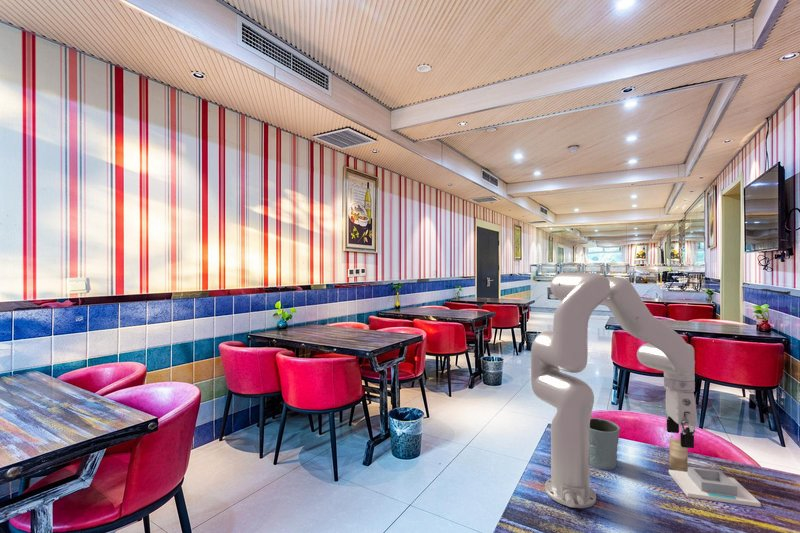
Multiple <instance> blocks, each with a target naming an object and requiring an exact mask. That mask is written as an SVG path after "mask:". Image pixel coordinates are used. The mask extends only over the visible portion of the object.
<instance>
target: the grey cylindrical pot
mask: <svg viewBox="0 0 800 533" xmlns="http://www.w3.org/2000/svg"><path fill="white" fill-rule="evenodd" d="M619 437H620V426H619V425H618V424H617V423H615V422H614V421H611V420H608V419H603V418H598V417H591V419H590V466H592V467H593V468H596V469H600V470H605V471H606V470H607V471H608V470H614V469H616V467H617V461H618V454H617V453H618V445H619V440H620V439H619Z"/></svg>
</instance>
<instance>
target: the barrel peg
mask: <svg viewBox="0 0 800 533" xmlns="http://www.w3.org/2000/svg"><path fill="white" fill-rule="evenodd" d="M688 450H689V448H686V447H682V446H681V441H680V438H670V439H669V467H670V468H671V470H676V471H684V472H688V459H689V458H688Z"/></svg>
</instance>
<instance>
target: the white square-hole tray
mask: <svg viewBox="0 0 800 533" xmlns="http://www.w3.org/2000/svg"><path fill="white" fill-rule="evenodd" d="M668 474H669V476H670V477H671V478H672V479H673V480H674V482H675V483H676V484H677V486H679V488H680V490H681V491H683V493H684V494H685V495H686V497H687V498H692V499H699V500H707V501H715V502H723V503H727V504H735V505H741V506H742V505H743V506H749V507H757V508H762V503H761V502H760V501H759V500H758V499H757V498H755V496H754V495H753V494H752V493H750V492H749V491H748V490H747V489H746V488H745V487H744V486H743V485H742V484H741V483H739V482H740V481H737V479H735V478H734V477H733V476H732V477H731V476H727V475H726V474H725V472H723V471H722V470H717V469H710V468H703V467H694V466H687V472H684V471H676V470H674V469H668Z"/></svg>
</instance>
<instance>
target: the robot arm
mask: <svg viewBox="0 0 800 533" xmlns="http://www.w3.org/2000/svg"><path fill="white" fill-rule="evenodd" d="M550 292H551V293H552V295H553V297H554V298H556V299H557V300H559V301H561V302H559V305H558V306H557V308H556V309H555V312H554V315H553V326H552V331H551V330H550V331H548V330H546V331H543V332H540V333H538V334H537V335H536V337H535V338H534V339H533V342H532V344H531V348H530V383H531V388H532V391H533V393H534V395H535V397H537V399H540V400H541V401H542V402H545V403H546V404H548V405H550V406H552V407H554V408H556V413H555V415H554V417H553V418H552V421H551V423H550V478H548V479H547V480H545V483H544V491H545V493H546V494H547V495H548V497H549V498H550V499H552V500H553V501H555V502H557V503H558V504H561V505H563V506H566V507H569V508H575V509H586V508H590V507H592V506H594V505H595V504H596V502H597V495H596V492H595V490H594V489H593V488H592V487H591V484H590V483H591V482H590V481H591V479H590V478H591V477H590V476H591V475H590V474H591V473H590V472H591V471H590V470H591V469H590V466H591V465H590V419H591V418H592V412H593V409H594V404H595V394H594V391H593V389H592V387H590V386H589V384H588V383H586V382H585V381H584V380H582V379H580V378H578V377H575V376H573V375H570V374H567V373H571V374H572V373H573V374H578V373H581V372H583V371H584V370H585V369H586V368H587V364H588V355H589V354H588V353H589V352H588V350H589V349H588V346H589V345H588V341H589V340H588V338H589V336H588V331H589V330H588V328H589V321H590V318H591V316H592V313H593V312H594V311H595V310H596V308H597V307H598V306H605V307H607V308H608V309H609V311H610V312H611V314H612V315H613V317H614V318H615V320H616V321H617V323H618V324H619V326H620V327H621V329H622V330H623V331H625V333H628V334H630V335H631V336H632V337H634V338H636V339H638V340H641V341H643V342H645V343H644V344H642V345H641V346H639V347H638V349H637V352H636V357H637V358H636V359H637V360H638V362H639V363H640V364H642V365H643V366H645V367H647V368H650V369H654V370H657V371H662V372H663V387H664V388H665V400H664V401H665V413H666V415H665V417H666V432H667V433H671V434H679V433H680V435H679V439H680V441H681V446H682V447H686V448H688V449H694V448H695V432H696V427H697V425H698V417H697V416H698V415H697V414H698V413H697V403H696V396H695V394H694V392H695V390H696V389H695V387H696V385H695V384H696V382H695V380H696V379H695V378H696V377H695V366H696V365H695V364H696V360H695V348H694V347H693V345H691V344H689V343H687V341H685V339H684V338H683V337H682V336H681V335H680V334H679V333H678V332H677V331H675V330H674V329H673V328H671V327H670V326H669V325H667V324H666V323H664V322H663V321H661V320H660V319H659V318H657V317H655V316H654V315H653V314H652V313H651V312H650V309H649V308H648V307H647V306H646V304H645V302H644V301H643V299H642V297H641V296H640V294H639V293H638V291H637V290H636V288H635V286H634V285H633V284H632V283H631V282H630V281H629V280H627V278H624V277H617V276H605V275H604V274H603V275H602V274H600V273H593V272H561V273H558V274H557V275H555V276H554V277H553V278H552V280H551V283H550ZM561 370H562V371H564V372H567V373H564V372H561ZM680 431H681V432H680Z"/></svg>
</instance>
